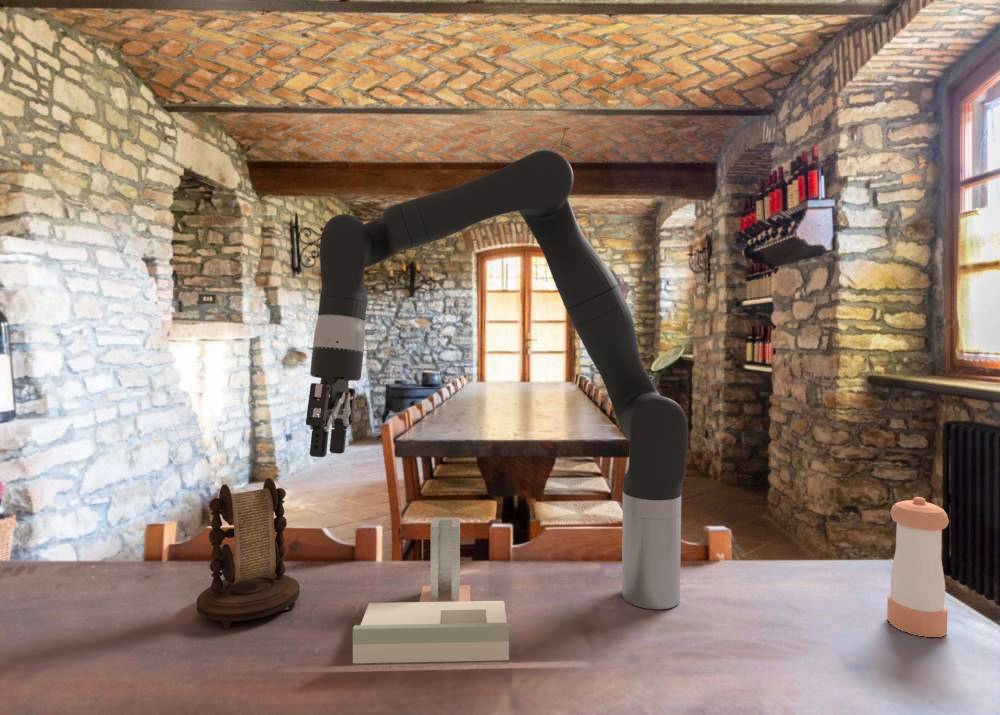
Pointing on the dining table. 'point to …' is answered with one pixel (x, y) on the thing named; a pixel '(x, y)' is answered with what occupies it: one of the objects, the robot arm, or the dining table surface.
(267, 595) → the scroll
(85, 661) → the dining table surface
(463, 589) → the tile
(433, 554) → the clip
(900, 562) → the salt shaker
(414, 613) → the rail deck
